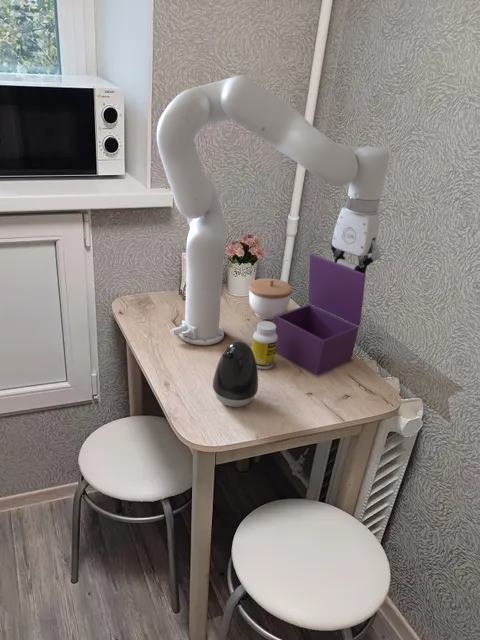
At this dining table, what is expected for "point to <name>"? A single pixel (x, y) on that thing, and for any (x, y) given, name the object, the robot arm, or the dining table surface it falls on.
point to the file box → (314, 339)
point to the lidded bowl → (269, 297)
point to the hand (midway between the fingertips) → (347, 276)
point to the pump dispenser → (236, 375)
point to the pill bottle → (264, 344)
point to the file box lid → (336, 288)
